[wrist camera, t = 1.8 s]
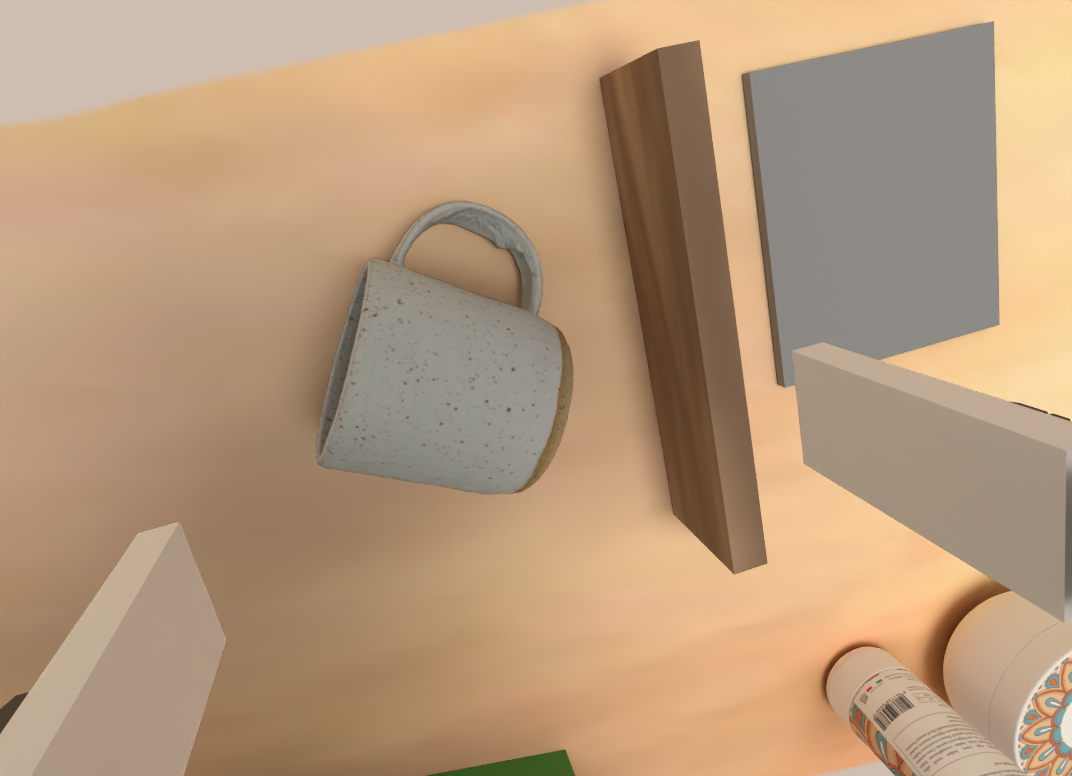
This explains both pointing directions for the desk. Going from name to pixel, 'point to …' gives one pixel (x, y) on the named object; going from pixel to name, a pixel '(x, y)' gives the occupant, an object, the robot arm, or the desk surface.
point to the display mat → (878, 195)
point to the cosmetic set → (969, 698)
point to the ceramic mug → (447, 373)
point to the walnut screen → (686, 296)
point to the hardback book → (521, 767)
